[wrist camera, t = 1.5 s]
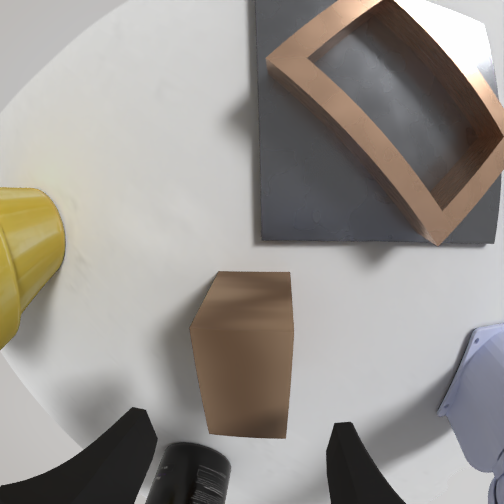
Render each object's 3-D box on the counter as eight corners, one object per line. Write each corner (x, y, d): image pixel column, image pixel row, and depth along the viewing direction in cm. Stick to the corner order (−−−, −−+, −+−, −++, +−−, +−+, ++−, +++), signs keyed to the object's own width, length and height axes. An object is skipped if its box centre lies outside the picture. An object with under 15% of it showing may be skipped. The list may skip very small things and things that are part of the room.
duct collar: (489, 241, 14) (516, 256, 11) (262, 237, 16) (258, 256, 13) (479, 26, 10) (503, 14, 7) (255, -15, 11) (249, -44, 8)
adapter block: (290, 271, 16) (294, 331, 11) (286, 368, 18) (285, 438, 13) (218, 270, 17) (189, 327, 11) (226, 366, 19) (209, 433, 13)
